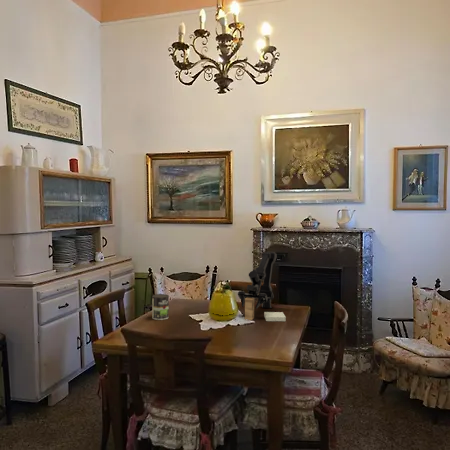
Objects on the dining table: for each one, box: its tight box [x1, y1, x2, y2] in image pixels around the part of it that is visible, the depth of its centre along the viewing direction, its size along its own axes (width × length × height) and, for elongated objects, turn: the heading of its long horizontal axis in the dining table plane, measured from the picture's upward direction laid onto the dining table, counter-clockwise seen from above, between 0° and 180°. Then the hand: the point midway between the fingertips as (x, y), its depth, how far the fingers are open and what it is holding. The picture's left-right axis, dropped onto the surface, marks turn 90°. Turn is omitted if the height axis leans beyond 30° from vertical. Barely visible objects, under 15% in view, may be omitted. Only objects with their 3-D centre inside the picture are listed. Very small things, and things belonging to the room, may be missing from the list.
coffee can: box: [151, 293, 170, 321], centre depth 270 cm, size 10×10×14 cm
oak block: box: [244, 297, 255, 321], centre depth 270 cm, size 4×4×13 cm
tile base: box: [263, 311, 287, 322], centre depth 272 cm, size 12×12×2 cm
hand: (249, 307), depth 269 cm, fingers open, 9 cm apart
